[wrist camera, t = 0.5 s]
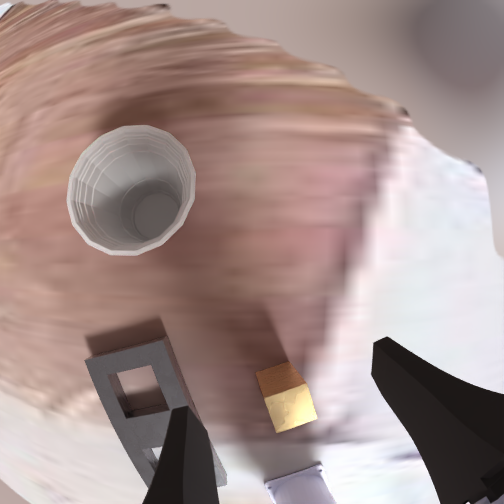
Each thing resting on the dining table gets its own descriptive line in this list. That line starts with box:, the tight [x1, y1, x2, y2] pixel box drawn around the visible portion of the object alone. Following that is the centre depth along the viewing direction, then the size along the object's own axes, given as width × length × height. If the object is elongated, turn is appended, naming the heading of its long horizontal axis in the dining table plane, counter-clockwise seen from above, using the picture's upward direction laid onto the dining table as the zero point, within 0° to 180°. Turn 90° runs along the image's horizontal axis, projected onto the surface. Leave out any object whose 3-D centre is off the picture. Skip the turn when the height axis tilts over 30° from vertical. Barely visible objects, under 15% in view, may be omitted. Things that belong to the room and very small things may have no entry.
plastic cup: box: [67, 125, 196, 256], centre depth 27 cm, size 11×11×12 cm
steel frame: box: [85, 336, 227, 489], centre depth 29 cm, size 20×10×2 cm, turn 18°
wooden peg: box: [255, 361, 317, 433], centre depth 28 cm, size 4×4×8 cm
